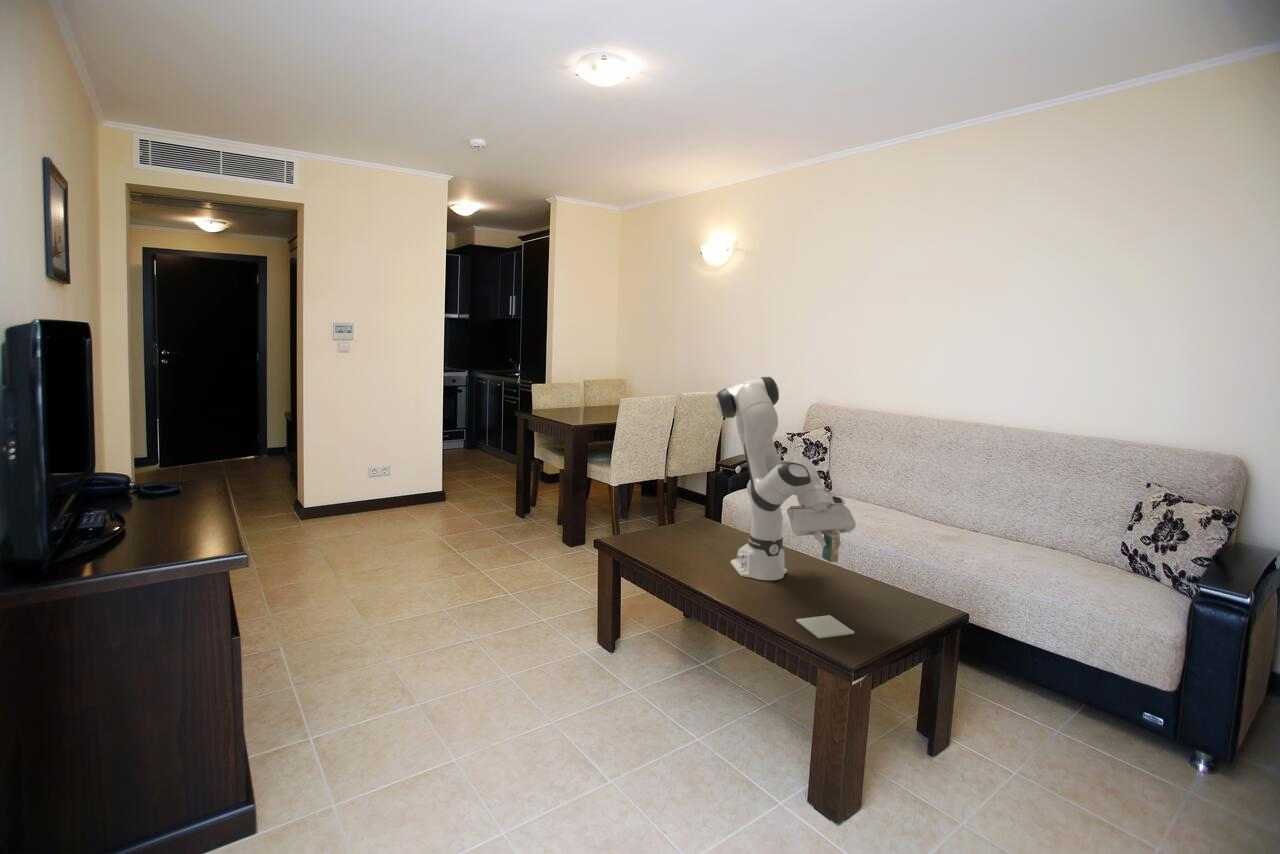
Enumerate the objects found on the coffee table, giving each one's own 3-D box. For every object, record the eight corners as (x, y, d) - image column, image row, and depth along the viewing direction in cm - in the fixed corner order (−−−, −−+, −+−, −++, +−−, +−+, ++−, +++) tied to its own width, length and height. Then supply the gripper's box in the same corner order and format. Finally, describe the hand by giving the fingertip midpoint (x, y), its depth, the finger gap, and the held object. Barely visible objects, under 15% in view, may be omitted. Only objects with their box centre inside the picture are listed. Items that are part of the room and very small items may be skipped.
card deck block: (830, 562, 189) (832, 537, 188) (821, 557, 192) (823, 533, 191) (837, 561, 190) (839, 536, 189) (829, 557, 193) (831, 532, 192)
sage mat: (796, 621, 198) (796, 619, 198) (829, 616, 202) (829, 615, 201) (819, 638, 186) (819, 636, 186) (854, 633, 190) (854, 631, 190)
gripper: (789, 501, 192) (805, 543, 184) (848, 498, 199) (866, 538, 191) (780, 511, 197) (796, 553, 189) (838, 508, 204) (855, 548, 196)
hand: (831, 546), depth 190 cm, fingers closed on card deck block, 3 cm apart
